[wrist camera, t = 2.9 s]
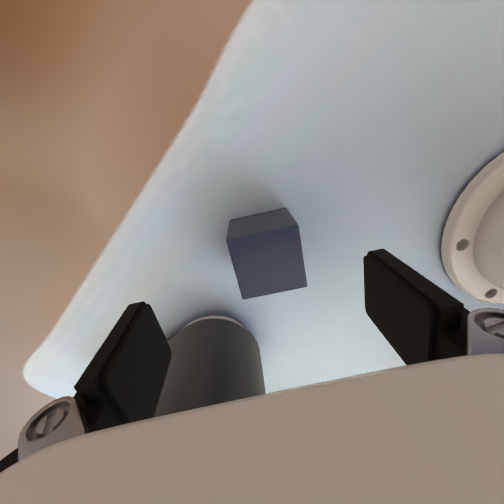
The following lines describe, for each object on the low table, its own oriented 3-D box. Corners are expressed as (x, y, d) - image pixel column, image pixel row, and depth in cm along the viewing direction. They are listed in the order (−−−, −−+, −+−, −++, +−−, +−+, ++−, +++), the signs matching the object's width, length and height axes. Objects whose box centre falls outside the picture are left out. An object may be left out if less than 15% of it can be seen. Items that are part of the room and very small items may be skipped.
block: (286, 207, 17) (298, 224, 13) (294, 258, 19) (307, 286, 15) (229, 219, 17) (226, 240, 14) (242, 269, 19) (242, 299, 15)
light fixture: (287, 345, 23) (331, 497, 13) (197, 425, 26) (175, 600, 15) (191, 276, 20) (148, 406, 9) (101, 376, 22) (-7, 557, 12)
